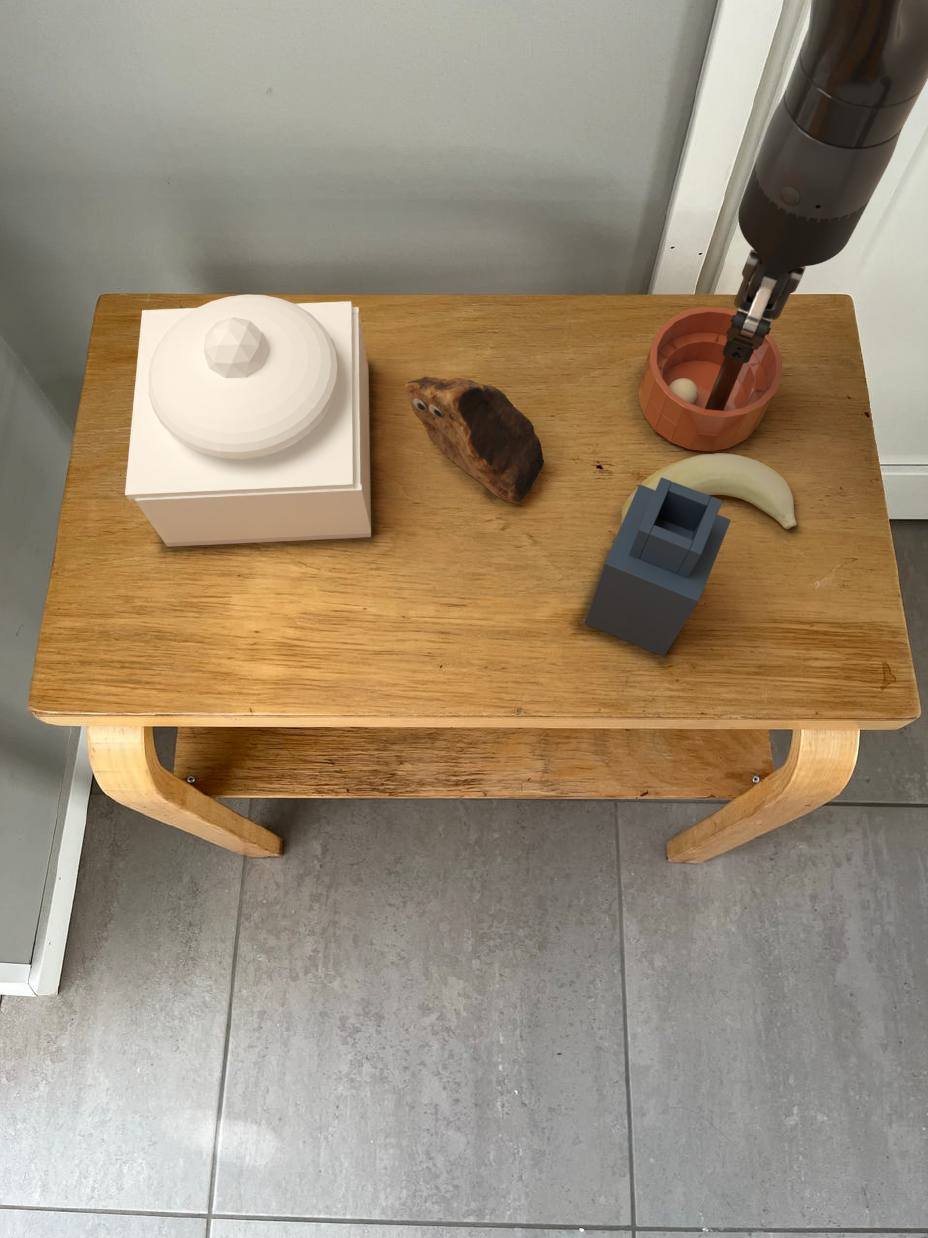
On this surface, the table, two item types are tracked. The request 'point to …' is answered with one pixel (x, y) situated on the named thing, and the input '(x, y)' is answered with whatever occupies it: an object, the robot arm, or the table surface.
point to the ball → (685, 390)
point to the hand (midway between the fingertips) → (740, 345)
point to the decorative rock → (479, 433)
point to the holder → (658, 565)
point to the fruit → (729, 483)
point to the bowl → (705, 381)
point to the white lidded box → (252, 422)
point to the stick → (723, 384)
